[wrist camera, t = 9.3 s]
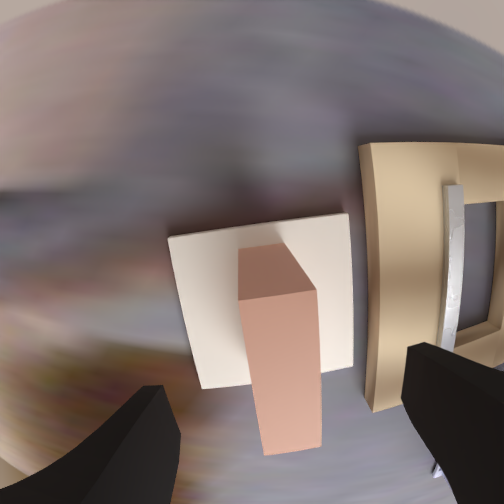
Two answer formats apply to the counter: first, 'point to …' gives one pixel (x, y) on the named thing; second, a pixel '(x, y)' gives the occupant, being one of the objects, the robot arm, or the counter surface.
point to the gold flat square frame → (425, 255)
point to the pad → (226, 290)
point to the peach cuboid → (281, 347)
